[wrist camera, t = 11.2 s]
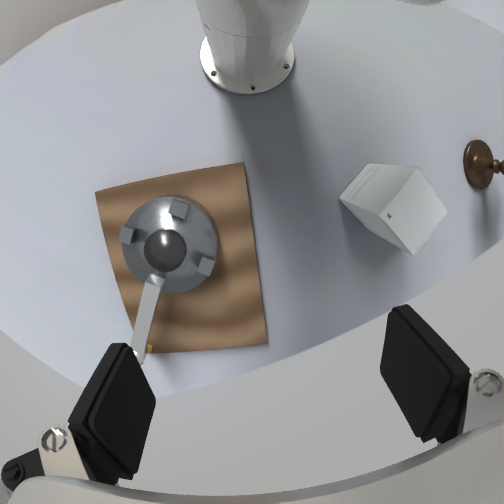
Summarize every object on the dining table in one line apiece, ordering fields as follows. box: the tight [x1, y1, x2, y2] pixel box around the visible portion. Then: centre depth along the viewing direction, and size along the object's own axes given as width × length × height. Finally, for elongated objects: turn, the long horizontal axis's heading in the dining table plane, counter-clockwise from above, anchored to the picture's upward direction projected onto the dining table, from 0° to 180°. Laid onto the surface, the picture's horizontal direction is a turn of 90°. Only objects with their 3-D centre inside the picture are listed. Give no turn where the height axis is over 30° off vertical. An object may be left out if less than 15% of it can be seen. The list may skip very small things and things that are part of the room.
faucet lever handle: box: [118, 194, 219, 366], centre depth 35 cm, size 24×12×7 cm, turn 158°
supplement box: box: [338, 164, 448, 256], centre depth 32 cm, size 7×7×13 cm
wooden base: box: [95, 163, 267, 354], centre depth 39 cm, size 27×21×2 cm
